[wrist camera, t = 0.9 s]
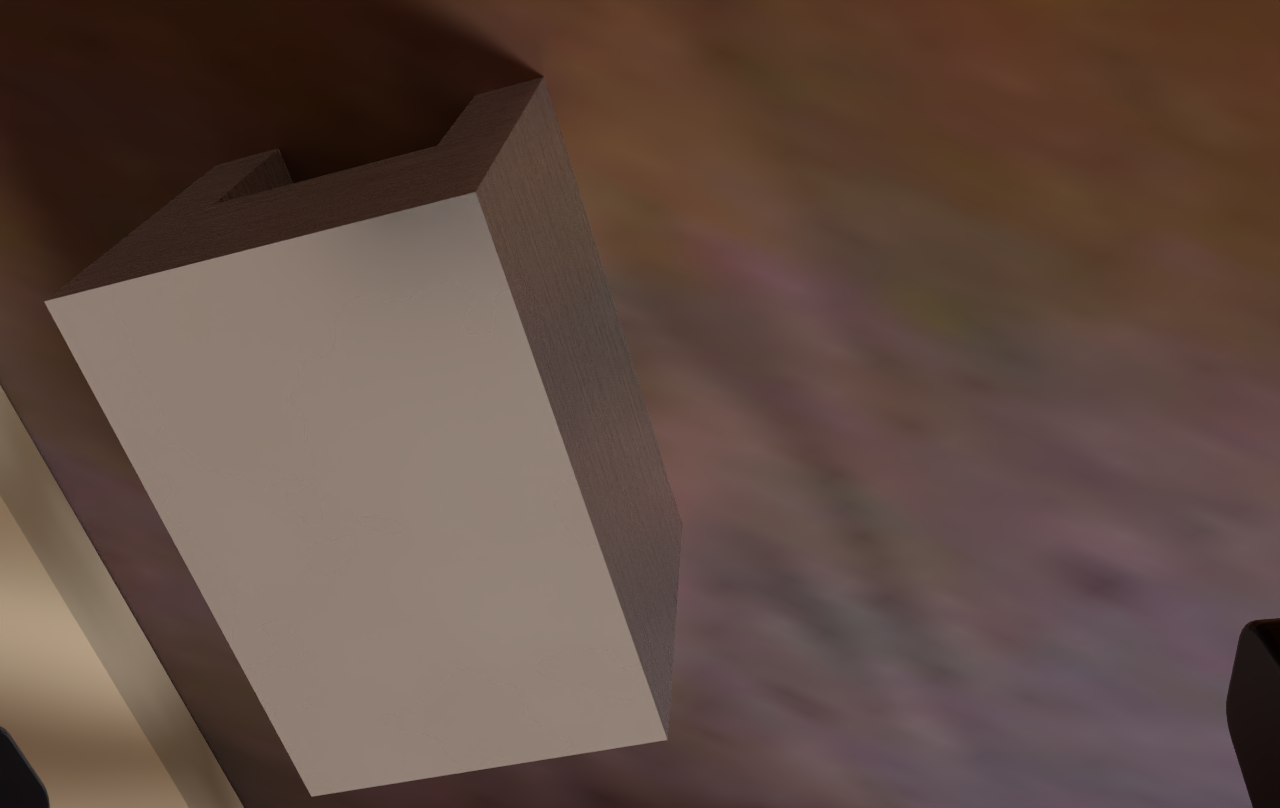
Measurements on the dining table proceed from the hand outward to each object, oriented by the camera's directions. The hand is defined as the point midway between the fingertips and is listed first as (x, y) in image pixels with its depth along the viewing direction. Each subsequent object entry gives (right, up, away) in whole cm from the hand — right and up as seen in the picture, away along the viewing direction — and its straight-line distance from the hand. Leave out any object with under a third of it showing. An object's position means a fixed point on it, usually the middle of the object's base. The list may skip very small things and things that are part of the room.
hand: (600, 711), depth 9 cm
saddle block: (-3, +3, +14) cm, 14 cm away
